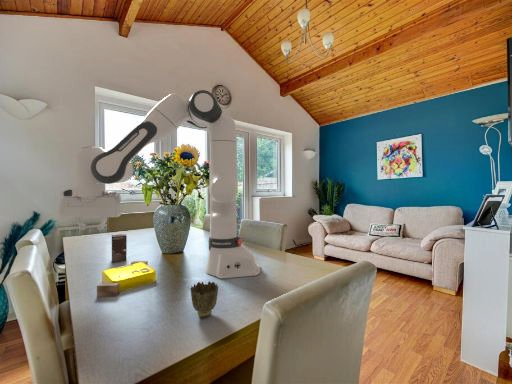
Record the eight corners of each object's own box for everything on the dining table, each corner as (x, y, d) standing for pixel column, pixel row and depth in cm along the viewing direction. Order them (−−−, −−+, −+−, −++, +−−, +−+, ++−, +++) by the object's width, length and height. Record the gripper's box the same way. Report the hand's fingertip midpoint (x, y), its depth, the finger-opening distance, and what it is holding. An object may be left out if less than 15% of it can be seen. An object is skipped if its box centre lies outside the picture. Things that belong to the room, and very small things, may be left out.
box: (112, 262, 111) (111, 236, 110) (111, 260, 114) (111, 234, 114) (127, 260, 114) (126, 235, 114) (126, 258, 118) (125, 233, 117)
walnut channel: (147, 269, 103) (147, 261, 102) (116, 296, 78) (116, 285, 78) (133, 269, 102) (133, 261, 102) (96, 296, 77) (96, 285, 77)
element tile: (142, 271, 101) (142, 260, 101) (157, 282, 90) (157, 269, 90) (100, 281, 90) (100, 269, 90) (112, 295, 80) (111, 280, 79)
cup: (219, 308, 70) (219, 280, 70) (216, 322, 63) (216, 292, 63) (193, 308, 70) (193, 281, 70) (187, 323, 63) (187, 292, 62)
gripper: (124, 191, 92) (125, 227, 93) (68, 191, 91) (69, 228, 92) (115, 191, 86) (116, 231, 86) (55, 191, 85) (56, 231, 85)
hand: (91, 229), depth 89 cm, fingers open, 5 cm apart
